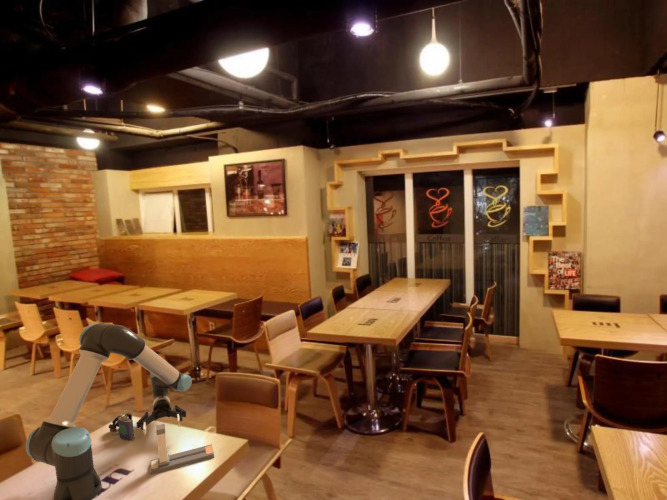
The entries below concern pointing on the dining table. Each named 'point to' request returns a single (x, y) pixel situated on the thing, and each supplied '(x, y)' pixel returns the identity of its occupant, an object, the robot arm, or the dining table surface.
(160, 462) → the lever
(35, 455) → the robot arm
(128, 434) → the flask
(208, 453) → the switch board
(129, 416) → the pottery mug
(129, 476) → the dining table surface
